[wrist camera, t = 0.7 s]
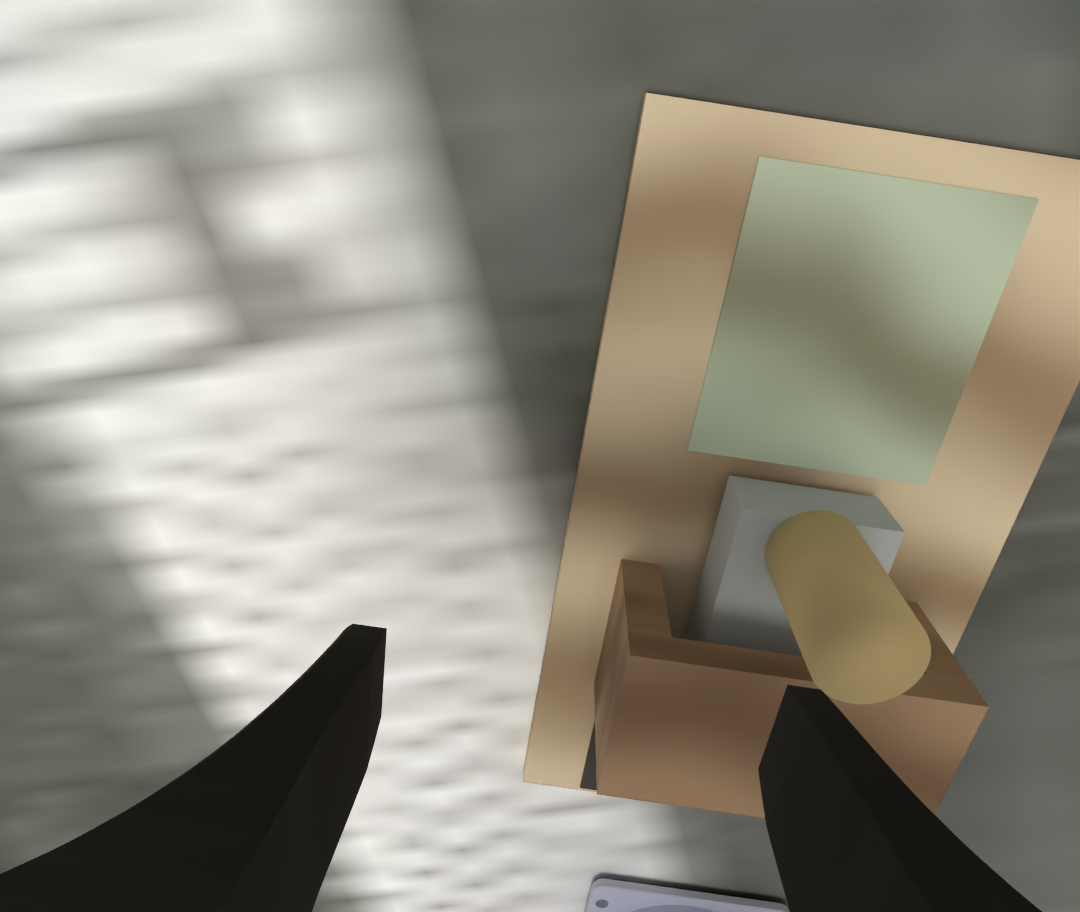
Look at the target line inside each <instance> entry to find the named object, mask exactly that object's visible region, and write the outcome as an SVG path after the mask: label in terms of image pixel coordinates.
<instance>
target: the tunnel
mask: <svg viewBox="0 0 1080 912" xmlns="http://www.w3.org/2000/svg"><path fill="white" fill-rule="evenodd" d="M906 602H907V604H908V605H909V607H910V608H911V610H912V612H913V613H914V615H915V616H916V618H917V619H918V621H919V622H920V624H921V625H922V627H923V628H924V630H925V631H926V633H927V635H928V637H929V640H930V644H931V657H930V662H929V664H928V667H927V669H926V671H925V673H924V674H923V675H922V677H921V678H920V679H919V680H918V681H917V682H916V684H914V685H913V686H912V687H911V688H910V689H908V690H907V691H905V692H904V693H902V694H900V695H898V696H897V697H894V698H892V699H889V700H886V701H883V702H879V703H873V704H850V703H845V702H841V701H838V700H836V699H833V698H831V697H829V696H828V695H827V696H828V697H829V698H830V700H831V701H832V702H833V703H834V704H835V705H836V706H837V707H838V709H839V710H840V711H841V712H842V713H843V714H844V716H845V717H846V718H847V719H848V720H849V721H850V722H851V724H852V725H853V726H854V727H855V728H856V729H857V731H858V732H859V733H860V734H861V735H862V736H863V737H864V739H865V740H866V741H867V742H868V743H869V744H870V745H871V747H872V748H873V749H874V750H875V751H876V752H877V753H878V755H879V756H880V757H881V758H882V759H883V760H884V761H885V762H886V764H887V765H888V766H889V767H890V768H891V769H892V770H893V771H894V772H895V774H896V775H897V776H898V777H899V778H900V779H901V780H902V781H903V782H904V783H905V784H906V785H907V787H908V788H909V789H910V790H911V791H912V792H913V793H914V794H915V795H916V796H917V797H918V798H919V799H920V800H921V801H922V802H923V803H924V805H925V806H926V807H927V808H928V809H929V810H930V811H931V812H932V813H933V814H935V812H936V810H937V808H938V806H939V804H940V802H941V800H942V799H943V797H944V795H945V793H946V791H947V789H948V787H949V785H950V783H951V781H952V779H953V777H954V775H955V773H956V771H957V769H958V767H959V765H960V763H961V761H962V759H963V757H964V755H965V753H966V751H967V749H968V747H969V745H970V743H971V741H972V739H973V737H974V735H975V733H976V731H977V729H978V727H979V725H980V723H981V722H982V720H983V718H984V716H985V714H986V712H987V710H988V708H989V707H988V705H987V704H986V702H985V701H984V699H983V698H982V696H981V695H980V694H979V692H978V691H977V689H976V688H975V686H974V685H973V683H972V682H971V680H970V679H969V677H968V676H967V675H966V673H965V672H964V670H963V669H962V667H961V666H960V664H959V663H958V661H957V660H956V659H955V657H954V656H953V654H952V653H951V651H950V650H949V648H948V647H947V645H946V644H945V642H944V641H943V640H942V638H941V637H940V635H939V634H938V632H937V631H936V629H935V628H934V626H933V625H932V624H931V622H930V621H929V619H928V618H927V616H926V615H925V613H924V612H923V610H922V609H921V607H920V606H919V605H918V603H917V602H911V601H906ZM787 685H793V686H800V687H807V688H814V689H819V688H818V687H817V686H816V684H815V683H814V681H813V680H812V677H811V675H810V673H809V670H808V668H807V665H806V663H805V660H804V658H803V656H797V655H790V654H783V653H776V652H769V651H762V650H755V649H748V648H742V647H735V646H728V645H721V644H714V643H707V642H700V641H693V640H686V639H679V638H672V636H671V630H670V625H669V619H668V613H667V607H666V602H665V596H664V590H663V584H662V579H661V573H660V567H659V565H658V564H651V563H645V562H638V561H631V560H624V559H621V562H620V566H619V571H618V576H617V580H616V585H615V589H614V594H613V598H612V603H611V608H610V612H609V617H608V621H607V626H606V631H605V635H604V640H603V644H602V649H601V653H600V658H599V663H598V667H597V672H596V676H595V681H594V702H595V742H596V783H597V794H600V795H607V796H614V797H621V798H628V799H635V800H642V801H649V802H656V803H663V804H670V805H677V806H684V807H691V808H698V809H705V810H713V811H720V812H727V813H734V814H741V815H748V816H755V817H762V818H765V814H764V807H763V801H762V794H761V787H760V779H759V772H758V768H759V765H760V762H761V759H762V756H763V753H764V750H765V748H766V745H767V742H768V739H769V736H770V733H771V730H772V727H773V725H774V722H775V719H776V716H777V713H778V710H779V707H780V704H781V702H782V699H783V696H784V693H785V690H786V687H787Z"/></svg>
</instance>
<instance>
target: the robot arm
mask: <svg viewBox="0 0 1080 912" xmlns="http://www.w3.org/2000/svg"><path fill="white" fill-rule="evenodd" d="M385 645H386V628H379V627H372V626H365V625H357V624H352V625H350V626H349V627H347V628H346V629H345V630H344V631H343V632H342V633H341V634H340V636H339V637H338V638H337V639H336V640H335V641H334V642H333V643H332V645H331V646H330V647H329V648H328V649H327V650H326V651H325V652H324V653H323V654H322V655H321V656H320V657H319V658H318V659H317V660H316V661H315V663H314V664H313V665H312V666H311V667H310V668H309V669H308V670H307V671H306V672H305V673H304V674H303V675H302V676H301V677H300V678H298V679H297V680H296V681H295V682H294V683H293V684H292V685H291V686H290V687H289V688H288V689H287V690H286V691H285V692H284V693H283V694H282V695H281V696H280V697H279V698H278V699H277V700H275V701H274V702H273V703H272V704H271V705H270V706H269V707H268V708H266V709H265V710H264V711H263V712H262V713H261V714H259V715H258V716H257V717H256V718H255V719H254V720H252V721H251V722H250V723H249V724H248V725H247V726H245V727H244V728H243V729H242V730H241V731H240V732H238V733H237V734H236V735H235V736H234V737H232V738H231V739H230V740H228V741H227V742H226V743H225V744H223V745H222V746H221V747H220V748H218V749H217V750H216V751H214V752H213V753H212V754H210V755H209V756H208V757H206V758H205V759H203V760H202V761H201V762H199V763H198V764H197V765H195V766H194V767H192V768H191V769H190V770H188V771H187V772H185V773H184V774H182V775H181V776H179V777H178V778H176V779H175V780H173V781H172V782H170V783H169V784H167V785H166V786H164V787H163V788H161V789H160V790H158V791H157V792H155V793H154V794H152V795H151V796H149V797H147V798H146V799H144V800H143V801H141V802H139V803H138V804H136V805H135V806H133V807H131V808H130V809H128V810H126V811H125V812H123V813H121V814H119V815H117V816H116V817H114V818H112V819H110V820H108V821H107V822H105V823H103V824H101V825H99V826H98V827H96V828H94V829H92V830H90V831H89V832H87V833H85V834H83V835H81V836H79V837H77V838H75V839H74V840H72V841H70V842H68V843H66V844H64V845H62V846H60V847H58V848H56V849H54V850H52V851H50V852H48V853H46V854H43V855H41V856H39V857H37V858H35V859H32V860H30V861H28V862H26V863H24V864H22V865H19V866H17V867H15V868H13V869H11V870H8V871H6V872H4V873H2V874H0V912H312V910H313V907H314V904H315V901H316V898H317V895H318V892H319V890H320V887H321V885H322V882H323V880H324V877H325V875H326V872H327V870H328V867H329V865H330V862H331V860H332V857H333V854H334V852H335V849H336V847H337V844H338V842H339V839H340V837H341V834H342V832H343V829H344V827H345V824H346V822H347V819H348V817H349V814H350V812H351V809H352V807H353V804H354V801H355V799H356V796H357V794H358V791H359V789H360V786H361V784H362V781H363V778H364V776H365V773H366V771H367V767H368V763H369V760H370V756H371V753H372V749H373V745H374V741H375V738H376V734H377V730H378V726H379V723H380V719H381V710H382V694H383V678H384V662H385ZM758 772H759V779H760V787H761V794H762V801H763V807H764V814H765V820H766V826H767V830H768V833H769V837H770V841H771V845H772V848H773V852H774V856H775V859H776V863H777V867H778V870H779V874H780V877H781V881H782V884H783V888H784V891H785V895H786V898H787V902H788V906H789V909H790V912H1042V911H1041V910H1039V909H1038V908H1037V907H1035V906H1034V905H1033V904H1032V903H1031V902H1029V901H1028V900H1027V899H1026V898H1025V897H1023V896H1022V895H1021V894H1020V893H1019V892H1017V891H1016V890H1015V889H1014V888H1013V887H1011V886H1010V885H1009V884H1008V883H1007V882H1006V881H1005V880H1004V879H1002V878H1001V877H1000V876H999V875H998V874H997V873H996V872H995V871H993V870H992V869H991V868H990V867H989V866H988V865H987V864H986V863H984V862H983V861H982V860H981V859H980V858H979V857H978V856H977V855H975V854H974V853H973V852H972V851H971V850H970V849H969V848H968V847H967V846H966V845H965V844H964V843H963V842H962V841H961V840H959V839H958V838H957V837H956V836H955V835H954V834H953V833H952V832H951V831H950V830H949V829H948V828H947V827H946V826H945V825H944V824H943V823H942V822H941V821H940V820H939V819H938V818H937V817H936V816H935V815H934V814H933V813H932V812H931V811H930V810H929V809H928V808H927V807H926V806H925V805H924V803H923V802H922V801H921V800H920V799H919V798H918V797H917V796H916V795H915V794H914V793H913V792H912V791H911V790H910V789H909V788H908V787H907V785H906V784H905V783H904V782H903V781H902V780H901V779H900V778H899V777H898V776H897V775H896V774H895V772H894V771H893V770H892V769H891V768H890V767H889V766H888V765H887V764H886V762H885V761H884V760H883V759H882V758H881V757H880V756H879V755H878V753H877V752H876V751H875V750H874V749H873V748H872V747H871V745H870V744H869V743H868V742H867V741H866V740H865V739H864V737H863V736H862V735H861V734H860V733H859V732H858V731H857V729H856V728H855V727H854V726H853V725H852V724H851V722H850V721H849V720H848V719H847V718H846V717H845V716H844V714H843V713H842V712H841V711H840V710H839V709H838V707H837V706H836V705H835V704H834V703H833V702H832V701H831V700H830V698H829V697H828V696H827V695H826V694H825V693H824V692H823V691H822V690H821V689H814V688H807V687H800V686H793V685H787V687H786V690H785V693H784V696H783V699H782V702H781V704H780V707H779V710H778V713H777V716H776V719H775V722H774V725H773V727H772V730H771V733H770V736H769V739H768V742H767V745H766V748H765V750H764V753H763V756H762V759H761V762H760V765H759V768H758ZM585 912H789V911H788V909H787V907H786V906H785V905H783V904H781V903H776V902H769V901H762V900H755V899H748V898H741V897H733V896H726V895H719V894H712V893H705V892H698V891H691V890H683V889H676V888H669V887H662V886H655V885H648V884H641V883H633V882H626V881H619V880H612V879H598V880H596V881H595V882H593V884H592V886H591V890H590V894H589V898H588V902H587V906H586V910H585Z"/></svg>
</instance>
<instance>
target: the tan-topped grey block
mask: <svg viewBox="0 0 1080 912" xmlns="http://www.w3.org/2000/svg"><path fill="white" fill-rule="evenodd" d="M904 534H905V531H904V530H903V529H902V528H901V526H900V525H899V524H898V522H897V521H896V520H895V518H894V517H893V516H892V515H891V513H890V512H889V511H888V509H887V508H886V507H885V505H884V504H883V503H882V502H881V500H880V499H879V498H878V497H872V496H865V495H858V494H852V493H845V492H838V491H831V490H825V489H818V488H811V487H804V486H798V485H791V484H784V483H777V482H771V481H764V480H757V479H750V478H744V477H737V476H730V475H729V477H728V481H727V485H726V488H725V492H724V496H723V499H722V503H721V507H720V510H719V514H718V518H717V521H716V525H715V528H714V532H713V536H712V539H711V543H710V547H709V550H708V554H707V558H706V561H705V565H704V569H703V572H702V576H701V580H700V583H699V587H698V591H697V594H696V598H695V602H694V605H693V609H692V613H691V616H690V620H689V624H688V627H687V631H686V635H685V638H684V639H686V640H693V641H700V642H707V643H714V644H721V645H728V646H735V647H742V648H748V649H755V650H762V651H769V652H776V653H783V654H790V655H797V656H803V658H804V660H805V663H806V665H807V668H808V670H809V673H810V675H811V677H812V680H813V681H814V683H815V684H816V686H817V687H818V688H819V689H821V690H822V691H823V692H824V693H825V694H826V695H828V696H829V697H831V698H833V699H836V700H838V701H841V702H845V703H850V704H873V703H879V702H883V701H886V700H889V699H892V698H894V697H897V696H898V695H900V694H902V693H904V692H905V691H907V690H908V689H910V688H911V687H912V686H913V685H914V684H916V682H917V681H918V680H919V679H920V678H921V677H922V675H923V674H924V673H925V671H926V669H927V667H928V664H929V662H930V657H931V644H930V640H929V637H928V635H927V633H926V631H925V630H924V628H923V627H922V625H921V624H920V622H919V621H918V619H917V618H916V616H915V615H914V613H913V612H912V610H911V608H910V607H909V605H908V604H907V602H906V601H905V599H904V598H903V596H902V595H901V593H900V592H899V590H898V589H897V587H896V586H895V584H894V583H893V581H892V580H891V578H890V577H889V575H888V574H889V572H890V569H891V567H892V564H893V562H894V559H895V557H896V554H897V552H898V549H899V546H900V544H901V541H902V539H903V536H904Z"/></svg>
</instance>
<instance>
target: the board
mask: <svg viewBox="0 0 1080 912" xmlns="http://www.w3.org/2000/svg"><path fill="white" fill-rule="evenodd" d="M1079 381H1080V160H1077V159H1070V158H1064V157H1057V156H1051V155H1044V154H1038V153H1031V152H1025V151H1019V150H1012V149H1006V148H999V147H993V146H986V145H980V144H974V143H967V142H961V141H954V140H948V139H941V138H935V137H928V136H922V135H916V134H909V133H903V132H896V131H890V130H883V129H877V128H871V127H864V126H858V125H851V124H845V123H838V122H832V121H825V120H819V119H813V118H806V117H800V116H793V115H787V114H780V113H774V112H768V111H761V110H755V109H748V108H742V107H735V106H729V105H722V104H716V103H710V102H703V101H697V100H690V99H684V98H677V97H671V96H665V95H658V94H652V93H644V99H643V104H642V110H641V116H640V121H639V127H638V132H637V138H636V144H635V149H634V155H633V160H632V166H631V171H630V177H629V183H628V188H627V194H626V199H625V205H624V211H623V216H622V222H621V227H620V233H619V239H618V244H617V250H616V255H615V261H614V266H613V272H612V278H611V283H610V289H609V294H608V300H607V306H606V311H605V317H604V322H603V328H602V334H601V339H600V345H599V350H598V356H597V361H596V367H595V373H594V378H593V384H592V389H591V395H590V401H589V406H588V412H587V417H586V423H585V428H584V434H583V440H582V445H581V451H580V456H579V462H578V468H577V473H576V479H575V484H574V490H573V496H572V501H571V507H570V512H569V518H568V523H567V529H566V535H565V540H564V546H563V551H562V557H561V563H560V568H559V574H558V579H557V585H556V591H555V596H554V602H553V607H552V613H551V618H550V624H549V630H548V635H547V641H546V646H545V652H544V658H543V663H542V669H541V674H540V680H539V686H538V691H537V697H536V702H535V708H534V713H533V719H532V725H531V730H530V736H529V741H528V747H527V753H526V758H525V764H524V770H523V782H528V783H535V784H542V785H549V786H556V787H563V788H570V789H577V790H584V791H591V792H597V783H596V742H595V702H594V681H595V676H596V672H597V667H598V663H599V658H600V653H601V649H602V644H603V640H604V635H605V631H606V626H607V621H608V617H609V612H610V608H611V603H612V598H613V594H614V589H615V585H616V580H617V576H618V571H619V566H620V562H621V559H624V560H631V561H638V562H645V563H651V564H658V565H659V567H660V573H661V579H662V584H663V590H664V596H665V602H666V607H667V613H668V619H669V625H670V630H671V636H672V638H679V639H684V638H685V635H686V631H687V627H688V624H689V620H690V616H691V613H692V609H693V605H694V602H695V598H696V594H697V591H698V587H699V583H700V580H701V576H702V572H703V569H704V565H705V561H706V558H707V554H708V550H709V547H710V543H711V539H712V536H713V532H714V528H715V525H716V521H717V518H718V514H719V510H720V507H721V503H722V499H723V496H724V492H725V488H726V485H727V481H728V477H729V475H730V476H737V477H744V478H750V479H757V480H764V481H771V482H777V483H784V484H791V485H798V486H804V487H811V488H818V489H825V490H831V491H838V492H845V493H852V494H858V495H865V496H872V497H878V498H879V499H880V500H881V502H882V503H883V504H884V505H885V507H886V508H887V509H888V511H889V512H890V513H891V515H892V516H893V517H894V518H895V520H896V521H897V522H898V524H899V525H900V526H901V528H902V529H903V530H904V531H905V534H904V536H903V539H902V541H901V544H900V546H899V549H898V552H897V554H896V557H895V559H894V562H893V564H892V567H891V569H890V572H889V574H888V575H889V577H890V578H891V580H892V581H893V583H894V584H895V586H896V587H897V589H898V590H899V592H900V593H901V595H902V596H903V598H904V599H905V601H911V602H917V603H918V605H919V606H920V607H921V609H922V610H923V612H924V613H925V615H926V616H927V618H928V619H929V621H930V622H931V624H932V625H933V626H934V628H935V629H936V631H937V632H938V634H939V635H940V637H941V638H942V640H943V641H944V642H945V644H946V645H947V647H948V648H949V650H950V651H951V653H952V654H953V653H954V651H955V649H956V647H957V645H958V642H959V640H960V638H961V636H962V634H963V632H964V629H965V627H966V625H967V623H968V621H969V619H970V616H971V614H972V612H973V610H974V608H975V606H976V604H977V601H978V599H979V597H980V595H981V593H982V591H983V588H984V586H985V584H986V582H987V580H988V578H989V575H990V573H991V571H992V569H993V567H994V565H995V562H996V560H997V558H998V556H999V554H1000V552H1001V550H1002V547H1003V545H1004V543H1005V541H1006V539H1007V537H1008V534H1009V532H1010V530H1011V528H1012V526H1013V524H1014V521H1015V519H1016V517H1017V515H1018V513H1019V511H1020V508H1021V506H1022V504H1023V502H1024V500H1025V498H1026V496H1027V493H1028V491H1029V489H1030V487H1031V485H1032V483H1033V480H1034V478H1035V476H1036V474H1037V472H1038V470H1039V467H1040V465H1041V463H1042V461H1043V459H1044V457H1045V454H1046V452H1047V450H1048V448H1049V446H1050V444H1051V442H1052V439H1053V437H1054V435H1055V433H1056V431H1057V429H1058V426H1059V424H1060V422H1061V420H1062V418H1063V416H1064V413H1065V411H1066V409H1067V407H1068V405H1069V403H1070V400H1071V398H1072V396H1073V394H1074V392H1075V390H1076V388H1077V385H1078V383H1079Z"/></svg>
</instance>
